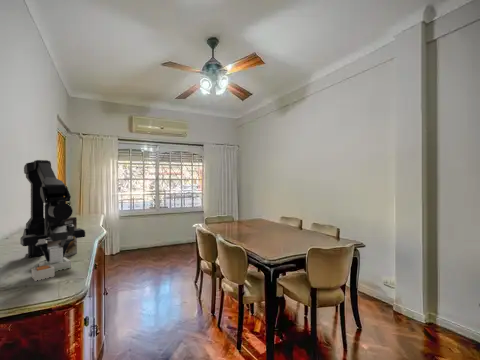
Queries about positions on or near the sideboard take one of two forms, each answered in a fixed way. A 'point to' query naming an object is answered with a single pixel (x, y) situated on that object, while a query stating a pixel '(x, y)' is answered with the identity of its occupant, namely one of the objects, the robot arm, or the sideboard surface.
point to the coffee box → (73, 244)
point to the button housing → (43, 273)
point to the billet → (55, 255)
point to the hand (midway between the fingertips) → (55, 260)
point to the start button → (42, 267)
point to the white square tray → (58, 264)
